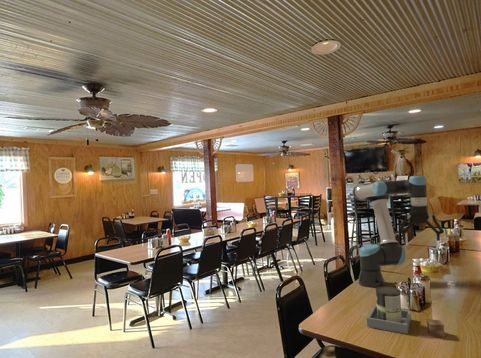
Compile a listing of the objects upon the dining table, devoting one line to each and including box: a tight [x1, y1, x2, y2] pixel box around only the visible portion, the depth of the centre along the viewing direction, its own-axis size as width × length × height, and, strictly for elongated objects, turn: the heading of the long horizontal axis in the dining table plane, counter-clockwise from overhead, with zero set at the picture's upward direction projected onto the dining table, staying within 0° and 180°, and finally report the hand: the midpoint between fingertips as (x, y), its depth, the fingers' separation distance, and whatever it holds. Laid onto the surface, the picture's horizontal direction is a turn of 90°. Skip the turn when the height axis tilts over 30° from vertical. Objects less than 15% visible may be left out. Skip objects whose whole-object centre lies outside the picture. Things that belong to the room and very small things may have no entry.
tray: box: [366, 305, 412, 335], centre depth 147 cm, size 16×16×4 cm
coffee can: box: [375, 285, 402, 323], centre depth 147 cm, size 10×10×14 cm
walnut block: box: [426, 318, 445, 339], centre depth 134 cm, size 5×5×5 cm
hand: (421, 246), depth 169 cm, fingers open, 13 cm apart
